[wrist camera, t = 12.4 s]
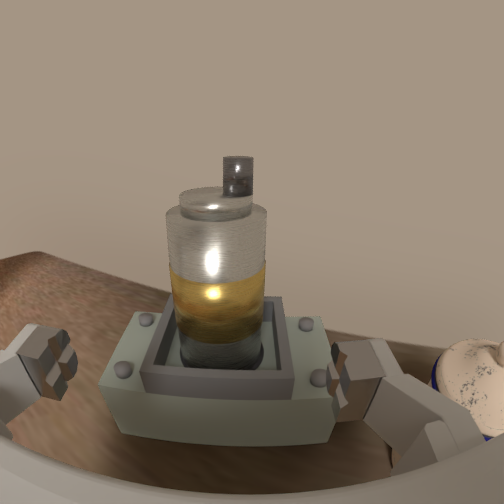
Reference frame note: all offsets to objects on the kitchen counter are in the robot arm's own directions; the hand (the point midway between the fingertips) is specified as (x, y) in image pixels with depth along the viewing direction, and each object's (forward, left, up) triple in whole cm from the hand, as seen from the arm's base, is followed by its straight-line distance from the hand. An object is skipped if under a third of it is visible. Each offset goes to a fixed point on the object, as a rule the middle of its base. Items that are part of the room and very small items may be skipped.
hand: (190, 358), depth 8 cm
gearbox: (+2, +10, -15) cm, 18 cm away
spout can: (0, +10, -8) cm, 13 cm away
